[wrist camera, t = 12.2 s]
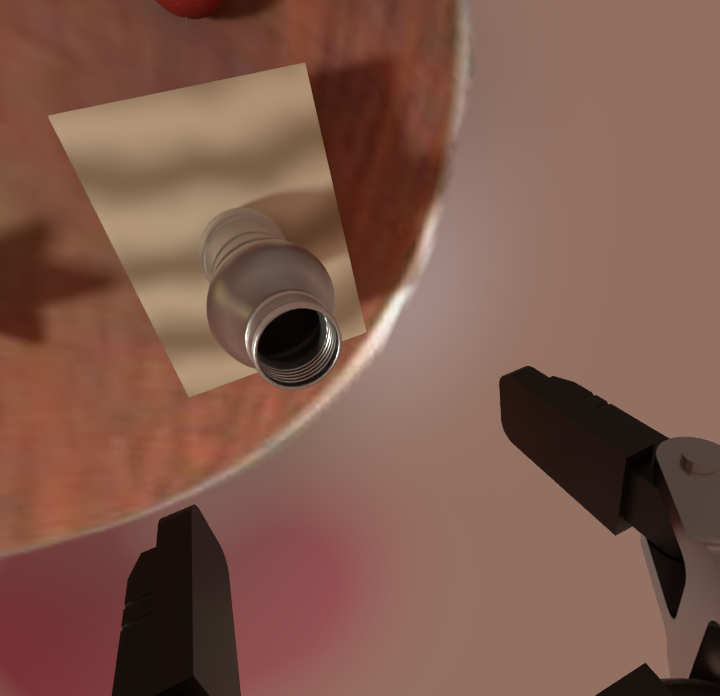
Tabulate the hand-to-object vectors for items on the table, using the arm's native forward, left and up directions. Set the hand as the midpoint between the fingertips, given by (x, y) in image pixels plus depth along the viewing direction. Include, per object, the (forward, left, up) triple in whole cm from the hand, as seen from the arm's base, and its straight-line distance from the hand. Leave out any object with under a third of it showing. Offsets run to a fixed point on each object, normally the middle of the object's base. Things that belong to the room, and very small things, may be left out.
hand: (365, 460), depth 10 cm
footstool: (0, 0, -35) cm, 35 cm away
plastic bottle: (0, 0, -27) cm, 27 cm away
